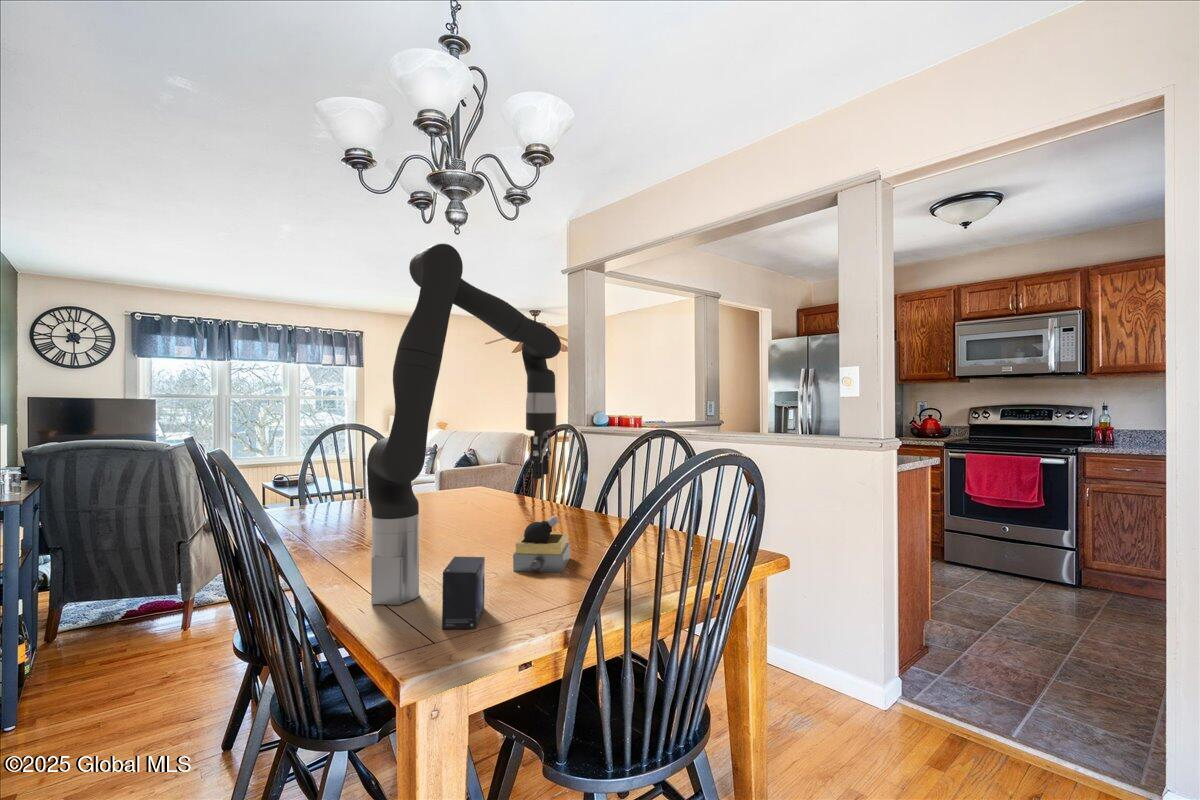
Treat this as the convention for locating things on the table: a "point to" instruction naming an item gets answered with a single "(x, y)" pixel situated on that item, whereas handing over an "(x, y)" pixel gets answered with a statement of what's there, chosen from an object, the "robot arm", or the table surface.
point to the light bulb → (540, 531)
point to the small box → (463, 592)
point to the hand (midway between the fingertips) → (541, 476)
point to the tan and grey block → (542, 554)
